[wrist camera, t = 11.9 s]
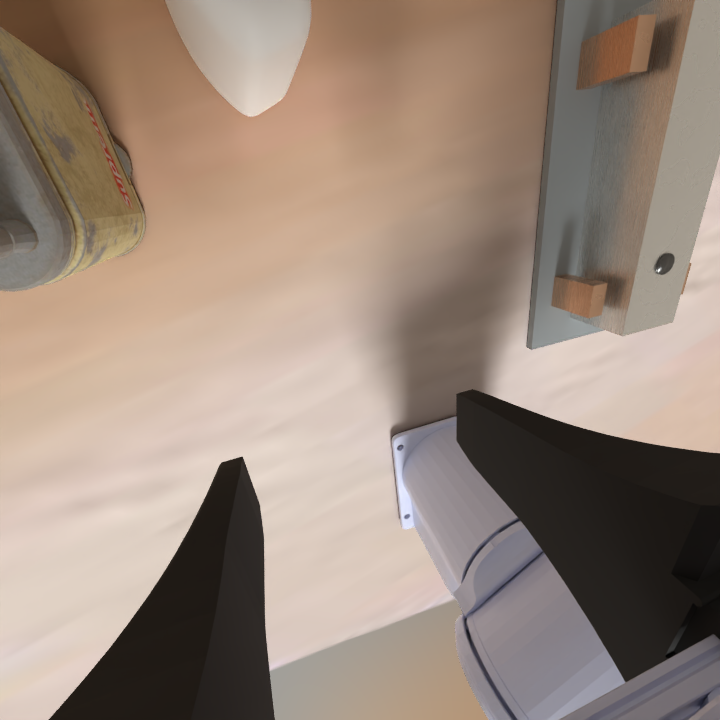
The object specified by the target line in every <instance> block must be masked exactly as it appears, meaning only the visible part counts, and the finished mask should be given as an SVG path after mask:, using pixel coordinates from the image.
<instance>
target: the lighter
mask: <svg viewBox="0 0 720 720" xmlns="http://www.w3.org/2000/svg"><path fill="white" fill-rule="evenodd" d="M131 174H132V165H131V160H130V158H129V157H128V155H127V154H126V152H125V151H124V150H123V149H122V148H121V147H120V146H118V145H117V144H115V143H114V141H113V139H112V137H111V135H110V132H109V130H108V128H107V125H106V123H105V121H104V118H103V116H102V114H101V111H100V109H99V107H98V104H97V102H96V100H95V99H94V97H93V96H92V95H91V93H90V92H89V91H88V90H87V89H86V88H85V86H84V85H83V84H82V83H81V82H80V81H78V80H77V79H76V78H75V77H73V76H72V75H71V74H69V73H68V72H66V71H65V70H63V69H61V68H60V67H58V66H56V65H53V64H52V63H51V62H49V61H48V60H46V59H45V58H44V57H42V56H41V55H39V54H38V53H37V52H35V51H34V50H32V49H31V48H30V47H28V46H27V45H25V44H24V43H23V42H21V41H20V40H18V39H17V38H16V37H14V36H13V35H12V34H10V33H9V32H7V31H6V30H5V29H3V28H2V27H0V291H22V290H28V289H31V288H34V287H37V286H40V285H48V284H51V283H54V282H57V281H60V280H62V279H64V278H67V277H69V276H71V275H74V274H76V273H78V272H80V271H83V270H85V269H87V268H90V267H92V266H94V265H97V264H99V263H101V262H104V261H106V260H108V259H110V258H113V257H118V256H121V255H124V254H127V253H129V252H130V251H132V250H134V249H135V248H136V247H137V246H138V245H139V243H140V242H141V240H142V238H143V236H144V233H145V227H146V220H145V213H144V211H143V208H142V206H141V204H140V202H139V199H138V197H137V195H136V192H135V190H134V188H133V185H132V183H131V181H130V177H131Z"/></svg>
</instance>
